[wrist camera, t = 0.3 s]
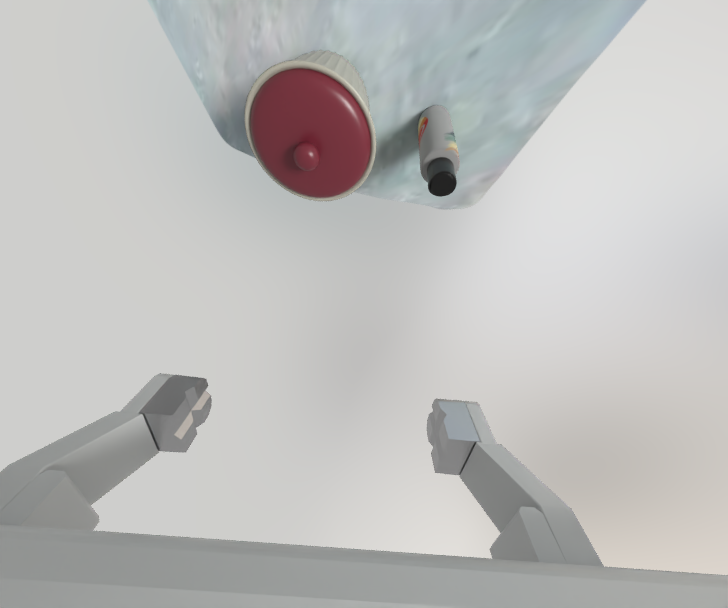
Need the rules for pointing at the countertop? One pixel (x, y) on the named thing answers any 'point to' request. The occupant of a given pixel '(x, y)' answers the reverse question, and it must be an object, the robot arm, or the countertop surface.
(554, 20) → the countertop surface
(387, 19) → the countertop surface
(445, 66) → the countertop surface
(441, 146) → the lotion bottle
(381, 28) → the countertop surface
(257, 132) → the canister
